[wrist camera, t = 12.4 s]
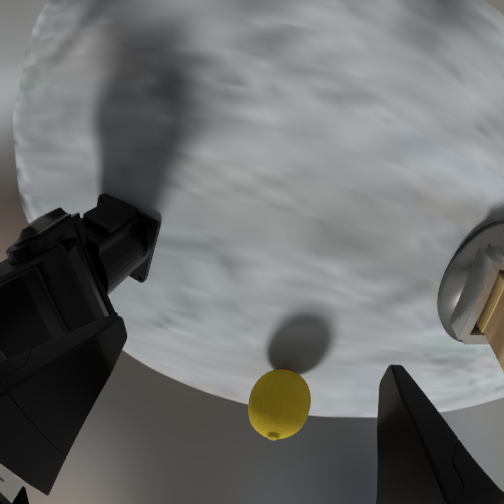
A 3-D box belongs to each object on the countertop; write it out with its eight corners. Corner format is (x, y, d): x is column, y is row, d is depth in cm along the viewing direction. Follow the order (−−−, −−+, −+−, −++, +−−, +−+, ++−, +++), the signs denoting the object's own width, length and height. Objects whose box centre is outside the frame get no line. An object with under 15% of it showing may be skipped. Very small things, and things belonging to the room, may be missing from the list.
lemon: (253, 352, 26) (232, 420, 19) (311, 351, 25) (304, 424, 18) (262, 387, 28) (246, 449, 21) (314, 387, 27) (307, 453, 20)
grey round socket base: (418, 335, 22) (426, 361, 19) (463, 208, 16) (484, 223, 13) (504, 337, 20) (515, 358, 17) (548, 234, 14) (568, 248, 11)
